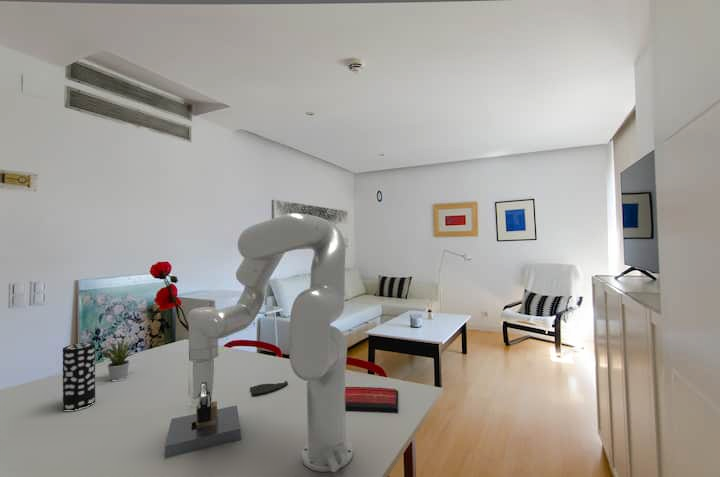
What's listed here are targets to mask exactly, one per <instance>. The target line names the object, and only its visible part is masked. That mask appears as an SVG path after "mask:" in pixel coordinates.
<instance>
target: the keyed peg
mask: <svg viewBox="0 0 720 477" xmlns="http://www.w3.org/2000/svg"><path fill="white" fill-rule="evenodd" d="M207 404H208V403H207ZM210 405H211V420H210V421H208V422H204V423H198V411H197V408H198V404H196V409H195V410H196V412H195V414H196V429H200V428H204V427H209V426H213V425H217V409H218V401H216V400H215V401H211V402H210ZM207 406H208V405H207Z"/></svg>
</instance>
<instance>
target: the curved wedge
mask: <svg viewBox="0 0 720 477" xmlns="http://www.w3.org/2000/svg"><path fill="white" fill-rule="evenodd" d="M288 386H289V383H288V381H287V380H284V381H283V382H278V383H261V384H258V385H254V386H251V387H250V388H249V392H250V394H251V396H252V398H256V397H261V396H266V395H269V394H272V393H276V392H278V391H280V390H282V389H284V388H286V387H288Z"/></svg>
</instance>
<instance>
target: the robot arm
mask: <svg viewBox="0 0 720 477" xmlns="http://www.w3.org/2000/svg"><path fill="white" fill-rule="evenodd" d="M344 239H345V238H344V236H343V234H342V231H341V230H340V229H339V228H338V226H336V225H335V224H334V223H333V222H331V221H330V220H327V219H325V218H324V217H319V216H316V215H311V214H304V213H300V212H299V213H298V212H296V213H295V212H293V213H287V214H284V215H280V216H277V217H274V218H271V219H268V220H265V221H263V222H262V221H261V222H259V223H255V224H253V225H250V226H248V227H247V228H245V229H244V230H243V231H242V232H241V234H240V235H239V238H238V241H237V249H238V251H239V255H241V257H243V259H242V261H241V262H240V265H239V266H238V267H237V270H236V271H235V278H236V280H237V281H238V282H239V284H241V285H242V286H244V287H243V288H244V289H243V291H242V293H241V295H240V297H239V299H238V300H237V302H236V303H235V304H234V305H231V306H227V307H223V308H221V309H217V308H216V307H213V306H201V307H195V308H193V309H191V310H190V311H189V312H188V361H189V362H192V399H193V400H196V399H198V400H197V401H198V404H197V405H198V408H197V407H196V408H197V411H198V423H204V422H208V421H210V420H211V405H210V402H212V396H213V389H214V382H215V380H214V378H215V359H216V358H218V357H219V355H220V353H219V339H220V340H221V339H223V338H228V337H229V336H232V335H234V334H236V333H238V332H241V331H244V330H245V329H247V328H248V327H250V326H251V325H252V324H253V322H254V321H255V320H256V318H257V316H258V314H259V312H260V311H261V309H262V307H263V305H264V302H265V297H266V286H267V284H268V282H269V281H270V279H271V277H272V275H273V273H274V272H275V270H276V268H277V267H278V265H279V264H280V262H281V260H282V259H283V257H284V255H285V253H288V252H290V251H296V250H308V249H309V250H312V251H313V257H312V261H311V266H310V283H309V284H310V285H309V288H307V289H304V290H303V291H301V292H300V293H298V295H297V296H296V298H295V299H294V301H293V303H292V306H291V310H290V320H289V322H290V325H289V347H288V348H289V350H288V353H289V355H288V358H289V364H290V368H291V369H292V371H293V373H294V374H295V375H296V376H297V377H298V378H299V379H300V380H303V381H306V406H307V407H306V408H307V409H306V410H307V411H306V414H307V415H306V416H307V444H306V445H305V446H304V447H303V448H302V450H301V460H302V463H303V464H304V465H305V466H306V467H307V469H309V470H310V469H311V470H312V471H315V472H322V473H323V472H324V473H325V472H333V473H336V472H337V471H339V470H340V469H342V468H343V467H345V466H346V465H348V463H349V462H351V460H352V458H353V454H354V453H353V452H354V449H353V446H352V444H351V443H350V441H348V440H347V413H346V412H347V411H346V404H345V387H346V368H347V367H346V366H347V357H348V342H347V339H346V336H345V335H344V333H343V332H342V330H340V329H339V328H338V327H336V326H333V325H331V324H333V323H334V322H335V321H336V320H337V319H339V318H340V317H341V316H342V314H343V312H344V308H345V290H346V289H345V288H346V287H345V284H346V282H345V281H346V274H345V273H346V243H345V240H344ZM207 403H208V404H207ZM207 405H208V406H207Z"/></svg>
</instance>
